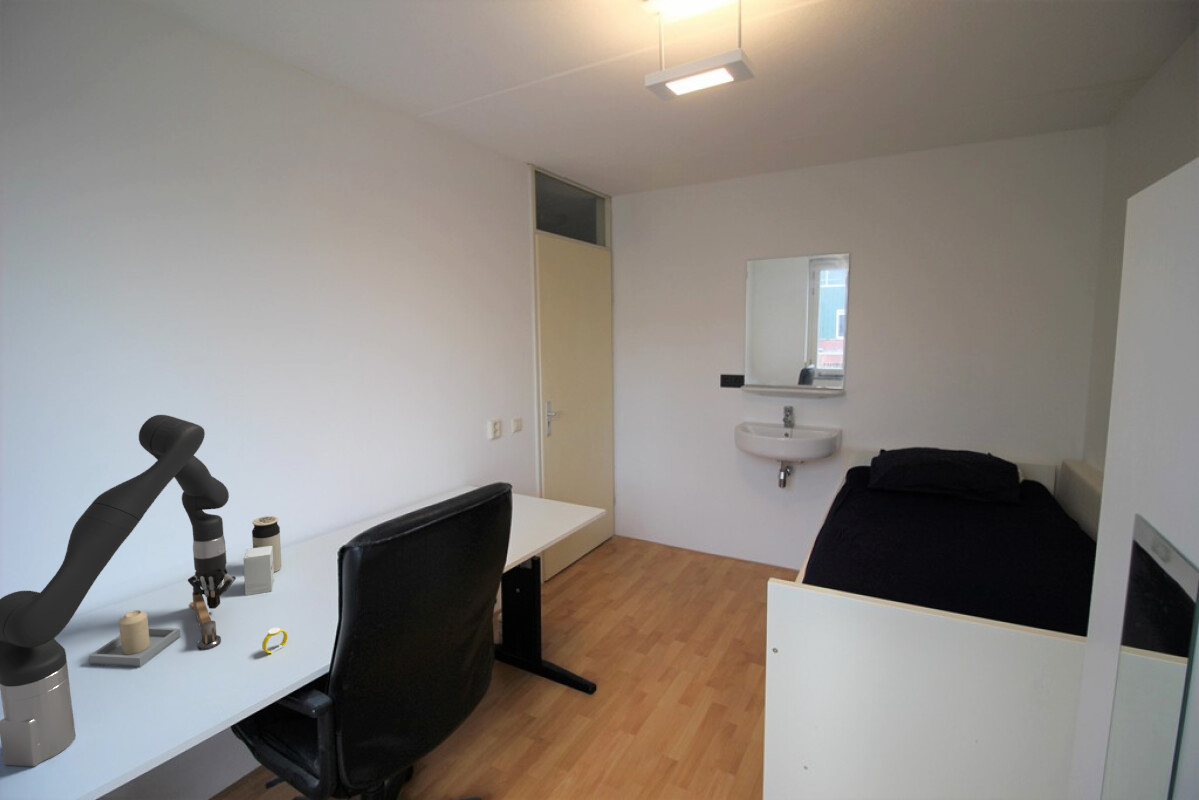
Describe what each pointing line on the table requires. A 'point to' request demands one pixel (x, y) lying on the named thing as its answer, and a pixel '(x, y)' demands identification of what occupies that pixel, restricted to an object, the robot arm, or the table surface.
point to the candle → (134, 632)
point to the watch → (271, 633)
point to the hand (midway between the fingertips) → (214, 607)
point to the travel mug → (268, 537)
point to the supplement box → (258, 570)
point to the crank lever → (204, 618)
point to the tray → (115, 657)
